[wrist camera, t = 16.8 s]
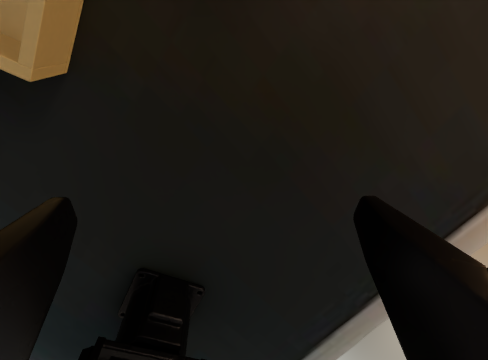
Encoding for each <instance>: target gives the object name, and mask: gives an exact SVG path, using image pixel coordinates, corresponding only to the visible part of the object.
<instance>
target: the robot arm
mask: <svg viewBox="0 0 488 360" xmlns="http://www.w3.org/2000/svg"><path fill="white" fill-rule="evenodd" d="M354 223H355V227H356V230H357V234H358V237H359V240H360V244H361V247H362V251H363V254H364V257H365V260H366V263H367V266H368V268H369V271H370V273H371V275H372V278H373V280H374V283H375V285H376V287H377V290H378V292H379V295H380V297H381V299H382V302H383V304H384V307H385V309H386V311H387V314H388V316H389V319H390V321H391V323H392V326H393V328H394V330H395V333H396V335H397V338H398V340H399V342H400V345H401V347H402V350H403V352H404V354H405V357H406V359H407V360H488V268H486V266H485V265H483V264H482V263H480V262H478V261H477V260H475V259H474V258H472V257H471V256H469V255H467V254H466V253H464V252H463V251H461V250H459V249H458V248H456V247H455V246H453V245H452V244H450V243H448V242H447V241H445V240H444V239H442V238H441V237H439V236H437V235H436V234H434V233H433V232H431V231H430V230H428V229H426V228H425V227H423V226H422V225H420V224H418V223H417V222H415V221H414V220H412V219H411V218H409V217H407V216H406V215H404V214H403V213H401V212H400V211H398V210H396V209H395V208H393V207H392V206H390V205H389V204H387V203H385V202H384V201H382V200H381V199H379V198H377V197H376V196H363V197H362V198H361V199H360V201H359V203H358V206H357V208H356V210H355V213H354ZM76 227H77V217H76V214H75V211H74V209H73V206H72V204H71V201H70V200H69V198H66V197H53V198H50V199H49V200H47V201H45V202H44V203H42V204H41V205H39V206H37V207H36V208H34V209H33V210H31V211H30V212H28V213H26V214H25V215H23V216H22V217H20V218H18V219H17V220H15V221H14V222H12V223H11V224H9V225H7V226H6V227H4V228H3V229H1V230H0V360H29V358H30V355H31V353H32V350H33V348H34V345H35V343H36V340H37V338H38V336H39V333H40V331H41V328H42V326H43V323H44V321H45V318H46V316H47V313H48V311H49V308H50V306H51V303H52V301H53V298H54V296H55V293H56V291H57V289H58V286H59V284H60V281H61V279H62V276H63V273H64V270H65V267H66V264H67V260H68V256H69V252H70V249H71V245H72V241H73V238H74V234H75V230H76ZM204 294H205V288H204V287H203V286H200V285H197V284H194V283H190V282H187V281H184V280H181V279H177V278H174V277H171V276H168V275H164V274H161V273H158V272H155V271H151V270H148V269H145V268H140V269H138V271H137V273H136V275H135V277H134V279H133V281H132V284H131V286H130V288H129V290H128V292H127V294H126V297H125V299H124V301H123V303H122V305H121V308H120V310H119V312H118V316H119V317H121V318H123V320H122V323H121V326H120V329H119V332H118V334H117V337H116V340H115V341H112V340H107V339H106V338H104V337H100V336H99V337H98V339H97V341H96V344H95V346H91V347H89V348H86V349H83V350H82V352H81V354H80V357H79V359H78V360H199V359H194V358H190V357H185V355H186V346H187V338H188V329H189V321H190V317H191V315H192V314H193V312H194V310H195V309H196V307H197V305H198V304H199V302H200V301H201V299H202V297H203V296H204ZM201 360H205V359H201Z"/></svg>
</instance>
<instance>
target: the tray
mask: <svg viewBox="0 0 488 360" xmlns="http://www.w3.org/2000/svg"><path fill="white" fill-rule="evenodd" d="M83 2H84V0H0V69H1V70H3V71H6V72H8V73H10V74H13V75H15V76H17V77H20V78H22V79H24V80H27V81H29V82H32V81H36V80H40V79H44V78H48V77H52V76H56V75H60V74H64V73H67V70H68V66H69V62H70V57H71V53H72V49H73V44H74V40H75V36H76V32H77V27H78V23H79V19H80V14H81V10H82V6H83Z"/></svg>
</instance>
